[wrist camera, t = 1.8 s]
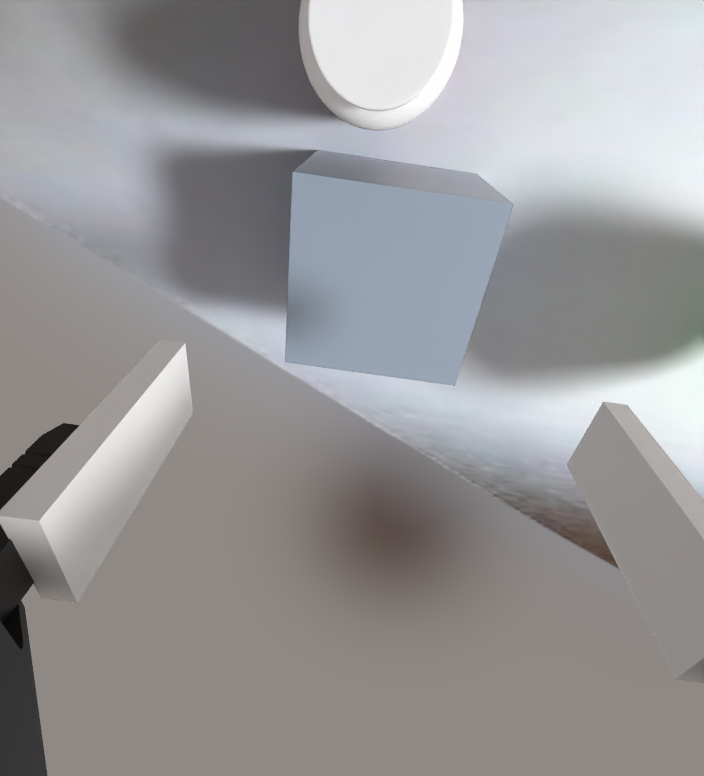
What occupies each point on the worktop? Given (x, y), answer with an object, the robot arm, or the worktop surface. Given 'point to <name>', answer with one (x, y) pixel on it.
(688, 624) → the robot arm
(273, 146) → the worktop surface
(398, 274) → the pale blue block
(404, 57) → the pill bottle
